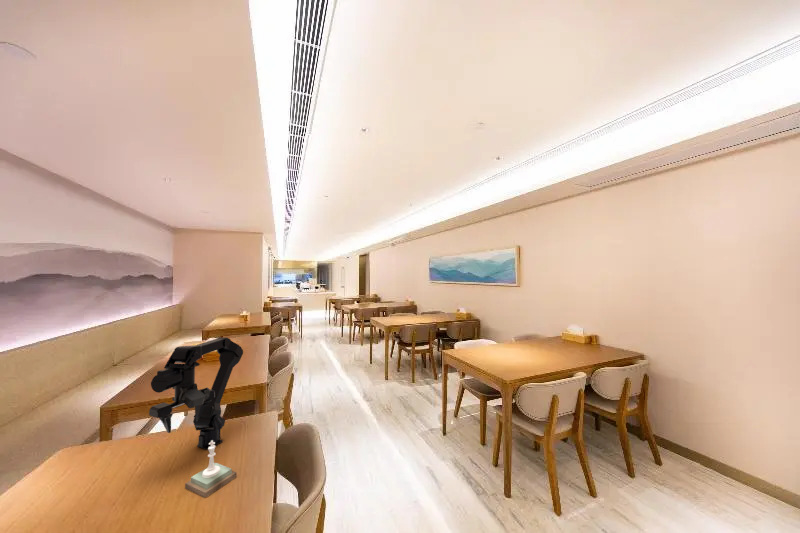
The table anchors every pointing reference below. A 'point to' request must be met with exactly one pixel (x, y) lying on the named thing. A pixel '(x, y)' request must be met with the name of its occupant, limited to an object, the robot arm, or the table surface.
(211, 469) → the chess piece
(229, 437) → the table surface
